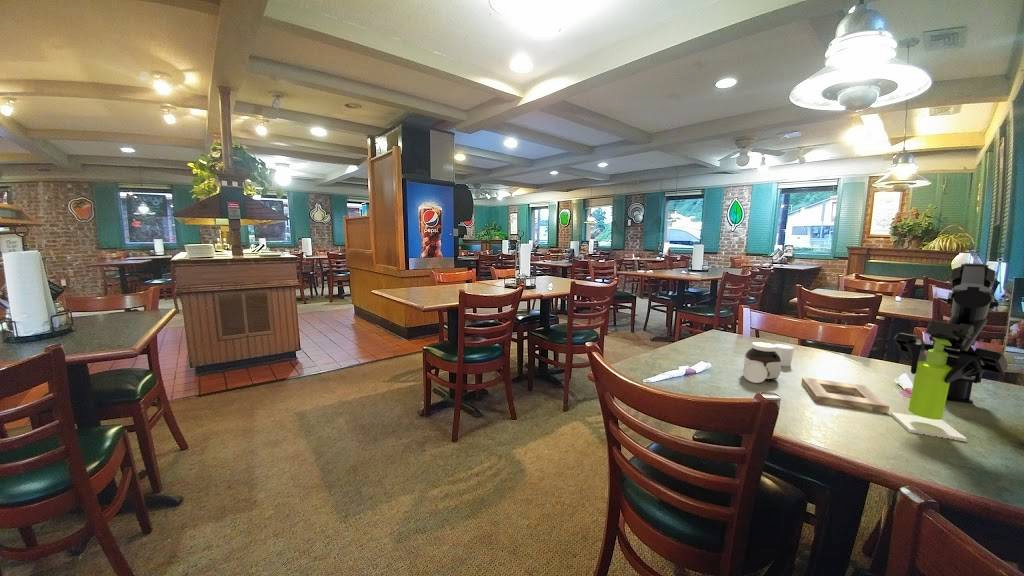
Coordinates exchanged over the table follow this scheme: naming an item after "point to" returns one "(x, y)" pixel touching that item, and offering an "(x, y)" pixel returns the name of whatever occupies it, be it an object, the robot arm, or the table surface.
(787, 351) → the white cup
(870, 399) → the plate
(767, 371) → the spread jar
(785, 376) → the table surface
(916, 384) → the soap dispenser
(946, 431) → the pad
